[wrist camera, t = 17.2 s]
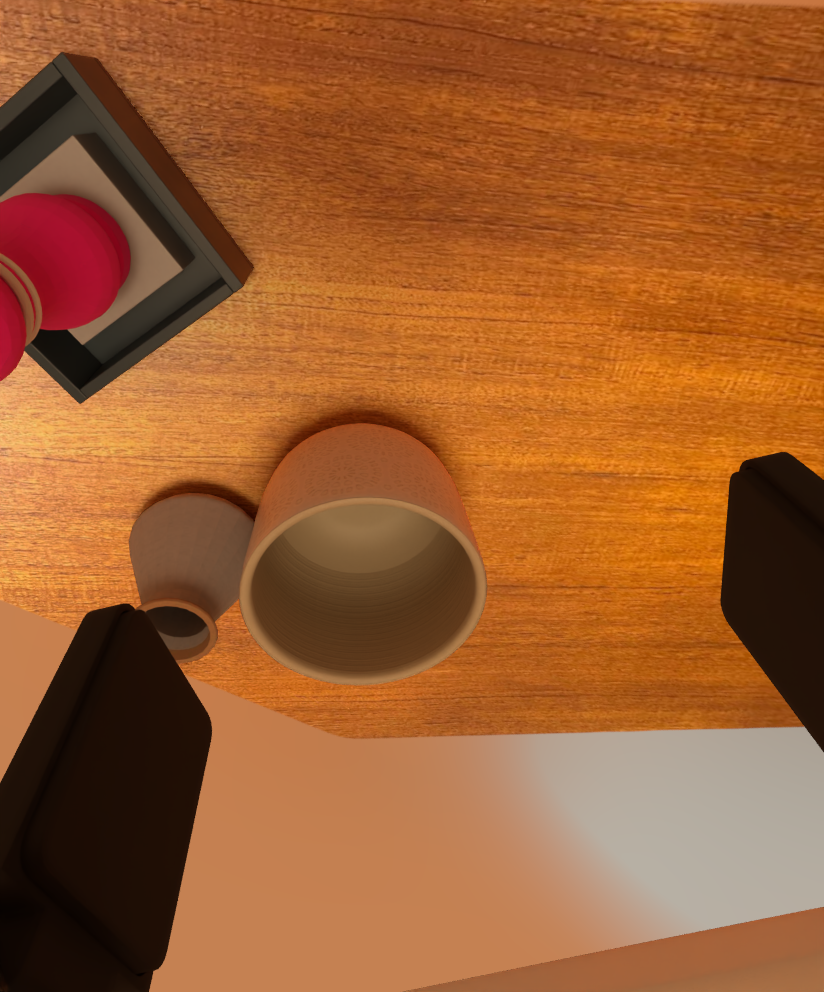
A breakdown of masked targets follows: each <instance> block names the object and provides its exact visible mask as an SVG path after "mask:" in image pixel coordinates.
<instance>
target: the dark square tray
mask: <svg viewBox="0 0 824 992" xmlns="http://www.w3.org/2000/svg"><path fill="white" fill-rule="evenodd" d="M88 133H97V135H98V136H99V137H100V138H101V140H102V141H103V142H104V143H105V145H106V146H107V147H108V148H109V150H110V151H111V152H112V153H113V155H114V156H115V157H116V159H117V160H118V161H119V162H120V164H121V165H122V166H123V167H124V169H125V170H126V171H127V172H128V174H129V175H130V176H131V177H132V179H133V180H134V181H135V182H136V184H137V185H138V186H139V187H140V189H141V190H142V191H143V192H144V194H145V195H146V196H147V197H148V199H149V200H150V201H151V202H152V204H153V205H154V206H155V207H156V209H157V210H158V211H159V212H160V214H161V215H162V216H163V217H164V219H165V220H166V221H167V222H168V224H169V225H170V226H171V227H172V229H173V230H174V231H175V232H176V234H177V235H178V236H179V238H180V239H181V240H182V241H183V243H184V244H185V245H186V246H187V248H188V249H189V250H190V251H191V253H192V254H193V255H194V256H195V258H194V259H193V260H192V261H191V262H190V264H189V265H188V266H187V267H186V268H185V269H184V270H183V271H181V272H180V273H179V274H177V275H176V276H175V277H173V278H172V279H171V280H169V281H168V282H167V283H165V284H164V285H163V286H161V287H160V288H159V289H157V290H156V291H155V292H153V293H152V294H151V295H149V296H148V297H147V298H145V299H144V300H143V301H141V302H140V303H139V304H137V305H136V306H135V307H133V308H132V309H131V310H129V311H128V312H127V313H125V314H124V315H123V316H121V317H120V318H119V319H117V320H116V321H115V322H113V323H112V324H111V325H109V326H108V327H107V328H105V329H104V330H103V331H101V332H100V333H98V334H97V335H96V336H94V337H93V338H92V339H90V340H89V341H88V342H86V343H85V344H84V345H82V344H81V343H80V342H79V341H78V340H77V339H76V338H75V337H74V336H73V335H72V334H71V333H70V332H69V331H68V330H67V329H65V330H44V329H39V331H38V334H37V336H36V337H35V338H34V340H33V341H31V342H30V343H29V344H28V345H27V346H25V349H24V351H25V352H26V353H27V354H28V355H29V356H31V357H32V358H33V359H34V360H35V361H36V362H37V363H38V364H39V365H40V366H41V367H42V368H43V369H44V370H45V371H46V372H47V373H48V374H49V375H50V376H51V377H52V378H53V379H54V380H55V381H56V382H58V383H59V384H60V385H61V386H62V387H63V388H64V389H65V390H66V391H67V392H68V393H69V394H70V395H71V396H72V397H73V398H74V399H75V400H76V401H77V402H78V403H80V404H81V403H82V402H84V401H85V400H87V399H88V398H89V397H91V396H92V395H94V394H95V393H96V392H98V391H99V390H101V389H102V388H103V387H105V386H106V385H107V384H109V383H110V382H112V381H113V380H114V379H116V378H117V377H119V376H120V375H121V374H123V373H124V372H125V371H127V370H128V369H130V368H131V367H132V366H134V365H135V364H137V363H138V362H139V361H141V360H142V359H144V358H145V357H146V356H148V355H149V354H150V353H152V352H153V351H155V350H156V349H157V348H159V347H160V346H162V345H163V344H164V343H166V342H167V341H168V340H170V339H171V338H173V337H174V336H175V335H177V334H178V333H180V332H181V331H182V330H184V329H185V328H187V327H188V326H189V325H191V324H192V323H193V322H195V321H196V320H198V319H199V318H200V317H202V316H203V315H205V314H206V313H207V312H209V311H210V310H212V309H213V308H214V307H216V306H217V305H218V304H220V303H221V302H223V301H224V300H225V299H227V298H228V297H230V296H231V295H232V294H233V293H235V292H237V291H238V290H239V289H241V288H242V287H243V286H244V284H245V282H246V281H247V279H248V277H249V275H250V273H251V271H252V270H253V268H254V267H253V265H252V264H251V263H250V261H249V260H248V259H247V257H246V256H245V255H244V253H243V252H242V251H241V249H240V248H239V247H238V245H237V244H236V243H235V241H234V240H233V239H232V237H231V236H230V235H229V233H228V232H227V231H226V229H225V228H224V227H223V226H222V224H221V223H220V222H219V220H218V219H217V218H216V216H215V215H214V214H213V212H212V211H211V210H210V208H209V207H208V206H207V204H206V203H205V202H204V200H203V199H202V198H201V196H200V195H199V194H198V192H197V191H196V190H195V188H194V187H193V186H192V184H191V183H190V182H189V180H188V179H187V178H186V176H185V175H184V174H183V172H182V171H181V170H180V168H179V167H178V166H177V164H176V163H175V162H174V160H173V159H172V158H171V156H170V155H169V154H168V152H167V151H166V150H165V148H164V147H163V146H162V144H161V143H160V142H159V140H158V139H157V138H156V136H155V135H154V134H153V132H152V131H151V130H150V128H149V127H148V126H147V124H146V123H145V122H144V120H143V119H142V118H141V116H140V115H139V114H138V112H137V111H136V110H135V108H134V107H133V106H132V104H131V103H130V102H129V100H128V99H127V98H126V96H125V95H124V94H123V92H122V91H121V90H120V88H119V87H118V86H117V84H116V83H115V82H114V80H113V79H112V78H111V76H110V75H109V74H108V72H107V71H106V70H105V68H104V67H103V66H102V65H101V63H100V62H99V61H98V59H96V58H91V57H85V56H80V55H75V54H69V53H64V52H61V53H60V54H59V55H58V56H57V57H56V58H55V59H53V61H52V62H50V63H49V64H48V65H47V66H46V67H45V68H44V69H42V70H41V71H40V72H39V73H38V74H37V75H36V76H35V77H34V78H32V79H31V80H30V81H29V82H28V83H27V84H26V85H25V86H23V87H22V88H21V89H20V90H19V91H18V92H17V93H16V94H15V95H13V96H12V97H11V98H10V99H9V100H8V101H7V102H6V103H5V104H3V105H2V106H1V107H0V196H2V195H3V194H4V193H5V192H6V191H7V190H9V189H10V188H11V187H12V186H13V185H14V184H16V183H17V182H18V181H19V180H20V179H22V178H23V177H24V176H25V175H26V174H27V173H29V172H30V171H31V170H32V169H33V168H34V167H36V166H37V165H38V164H39V163H40V162H41V161H43V160H44V159H45V158H46V157H47V156H48V155H50V154H51V153H52V152H53V151H54V150H56V149H57V148H58V147H59V146H60V145H61V144H63V143H64V142H65V141H66V140H67V139H68V138H70V137H71V136H72V135H79V134H88Z"/></svg>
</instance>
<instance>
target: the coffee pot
mask: <svg viewBox="0 0 824 992" xmlns="http://www.w3.org/2000/svg"><path fill="white" fill-rule="evenodd" d="M253 527H254V521H253V519H252V518H251V517H250V516H249V515H248V514H247V513H246V512H245V511H244V510H242V509H241V508H240V507H239V506H237V505H235V504H233V503H232V502H230V501H228V500H226V499H223V498H220V497H217V496H214V495H210V494H201V493H186V494H178V495H174V496H171V497H169V498H166V499H163V500H161V501H158V502H156V503H155V504H153V505H152V506H151V507H149V508H148V509H146V510H145V511H144V512H143V513H142V514H141V515H140V516H139V518H138V519H137V521H136V522H135V523H134V525H133V527H132V531H131V534H130V538H129V548H130V557H131V561H132V565H133V570H134V574H135V578H136V583H137V587H138V591H139V595H140V600H141V604H142V605H140V606H139V607H137V608H136V609H135V610H143V611H145V612H146V614H147V615H148V616H149V618H150V620H151V621H152V623H153V625H154V626H155V628H156V630H157V631H158V633H159V634H160V636H161V638H162V639H163V641H164V643H165V644H166V646H167V647H168V649H169V651H170V652H171V654H172V656H173V657H174V659H175V661H176V662H177V664H181V663H188V662H192V661H195V660H198V659H200V658H202V657H203V656H205V655H207V654H208V653H209V652H210V651H211V649H212V648H213V647H214V646H215V643H216V641H217V638H218V630H217V627H216V624H215V621H216V620H217V619H218V618H219V617H220V616H221V615H222V614H223V613H224V612H225V611H227V610H228V609H229V608H230V607H231V606H232V605H233V604H234V603H235V602H236V601H237V600H238V599H239V586H240V579H241V574H242V569H243V564H244V560H245V556H246V553H247V549H248V545H249V542H250V538H251V534H252V531H253Z"/></svg>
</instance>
